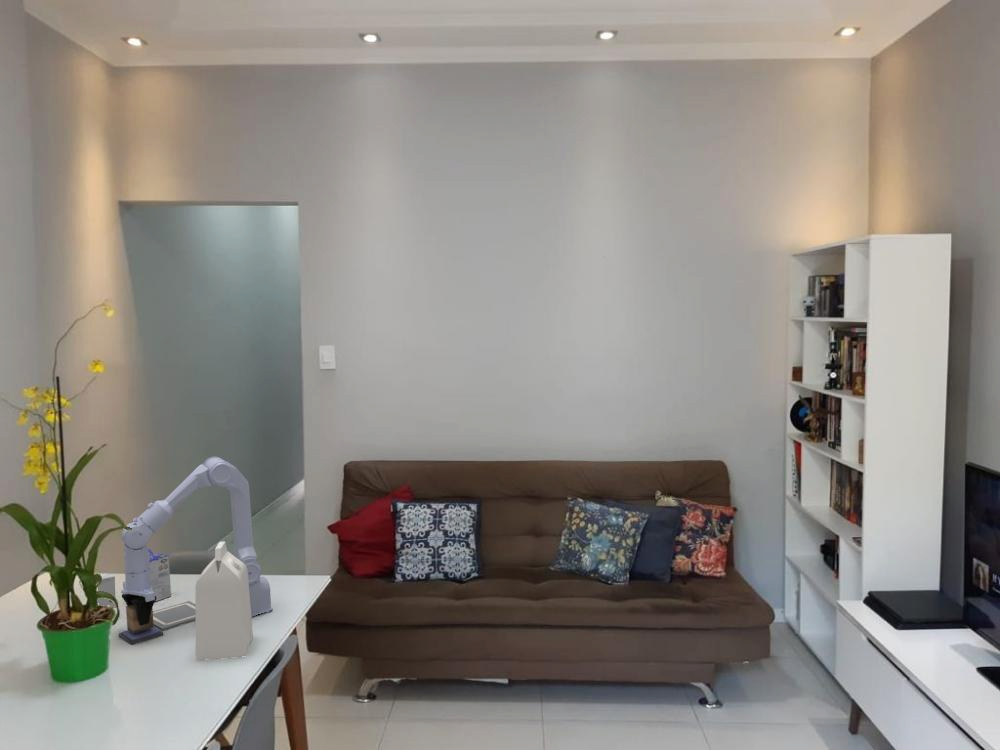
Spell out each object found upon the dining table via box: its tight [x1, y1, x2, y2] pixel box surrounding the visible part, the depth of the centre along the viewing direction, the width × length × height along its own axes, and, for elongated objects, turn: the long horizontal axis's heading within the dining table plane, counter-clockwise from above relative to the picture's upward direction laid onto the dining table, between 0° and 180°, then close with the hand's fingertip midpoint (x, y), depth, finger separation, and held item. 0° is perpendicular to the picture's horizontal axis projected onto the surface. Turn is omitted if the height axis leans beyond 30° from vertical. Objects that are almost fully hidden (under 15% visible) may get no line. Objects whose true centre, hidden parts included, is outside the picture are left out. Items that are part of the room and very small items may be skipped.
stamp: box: [125, 605, 155, 633], centre depth 203 cm, size 5×4×6 cm
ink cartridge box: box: [148, 548, 172, 602], centre depth 228 cm, size 10×6×14 cm, turn 148°
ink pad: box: [118, 626, 164, 646], centre depth 203 cm, size 8×8×1 cm
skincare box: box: [98, 572, 116, 607], centre depth 214 cm, size 6×4×12 cm
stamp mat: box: [153, 600, 196, 632], centre depth 216 cm, size 14×14×1 cm
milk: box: [194, 540, 254, 661], centre depth 193 cm, size 12×12×26 cm
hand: (140, 622), depth 203 cm, fingers closed on stamp, 4 cm apart
